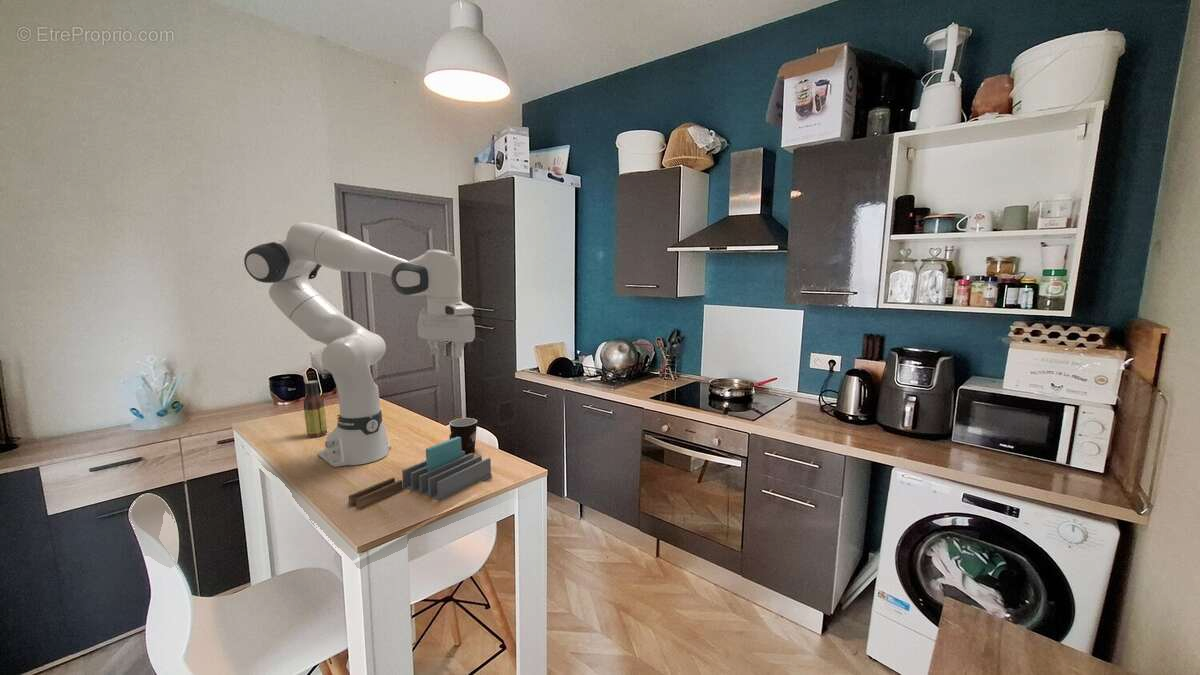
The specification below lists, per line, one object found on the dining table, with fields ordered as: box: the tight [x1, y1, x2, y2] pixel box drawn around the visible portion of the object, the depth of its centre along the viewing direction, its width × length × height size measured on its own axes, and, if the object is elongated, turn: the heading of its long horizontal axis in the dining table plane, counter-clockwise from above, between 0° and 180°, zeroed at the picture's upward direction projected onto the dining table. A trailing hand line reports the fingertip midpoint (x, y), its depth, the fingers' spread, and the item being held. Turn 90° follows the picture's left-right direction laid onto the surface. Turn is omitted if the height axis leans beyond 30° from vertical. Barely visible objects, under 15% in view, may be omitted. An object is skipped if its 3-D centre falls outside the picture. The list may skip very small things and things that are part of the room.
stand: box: [347, 477, 406, 511], centre depth 115 cm, size 6×12×3 cm, turn 149°
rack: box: [401, 451, 493, 502], centre depth 125 cm, size 15×18×6 cm
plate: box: [425, 437, 462, 472], centre depth 126 cm, size 1×11×10 cm, turn 149°
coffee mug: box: [448, 417, 478, 456], centre depth 146 cm, size 12×9×10 cm
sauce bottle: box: [303, 380, 328, 438], centre depth 161 cm, size 7×6×20 cm
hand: (446, 355), depth 130 cm, fingers open, 8 cm apart
